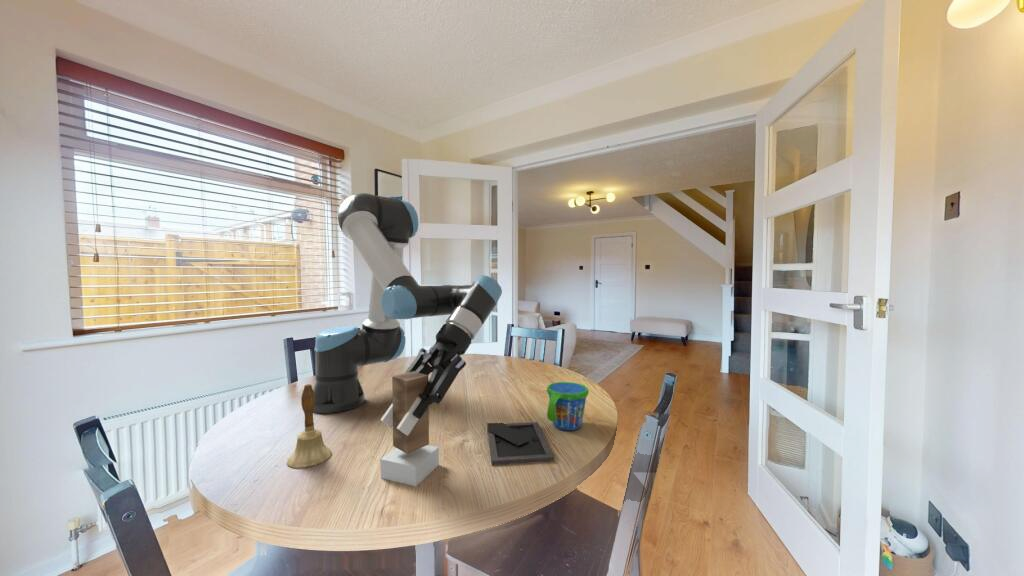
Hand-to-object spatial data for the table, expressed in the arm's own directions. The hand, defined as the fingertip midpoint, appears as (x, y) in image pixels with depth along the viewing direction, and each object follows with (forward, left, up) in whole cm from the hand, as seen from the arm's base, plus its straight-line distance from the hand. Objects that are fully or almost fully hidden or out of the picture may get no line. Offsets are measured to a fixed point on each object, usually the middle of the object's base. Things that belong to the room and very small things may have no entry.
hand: (393, 427), depth 66 cm
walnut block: (0, +4, -5) cm, 6 cm away
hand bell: (-21, -7, -10) cm, 25 cm away
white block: (0, +4, -10) cm, 11 cm away
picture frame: (+9, +27, -11) cm, 30 cm away
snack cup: (+13, +43, -10) cm, 46 cm away
